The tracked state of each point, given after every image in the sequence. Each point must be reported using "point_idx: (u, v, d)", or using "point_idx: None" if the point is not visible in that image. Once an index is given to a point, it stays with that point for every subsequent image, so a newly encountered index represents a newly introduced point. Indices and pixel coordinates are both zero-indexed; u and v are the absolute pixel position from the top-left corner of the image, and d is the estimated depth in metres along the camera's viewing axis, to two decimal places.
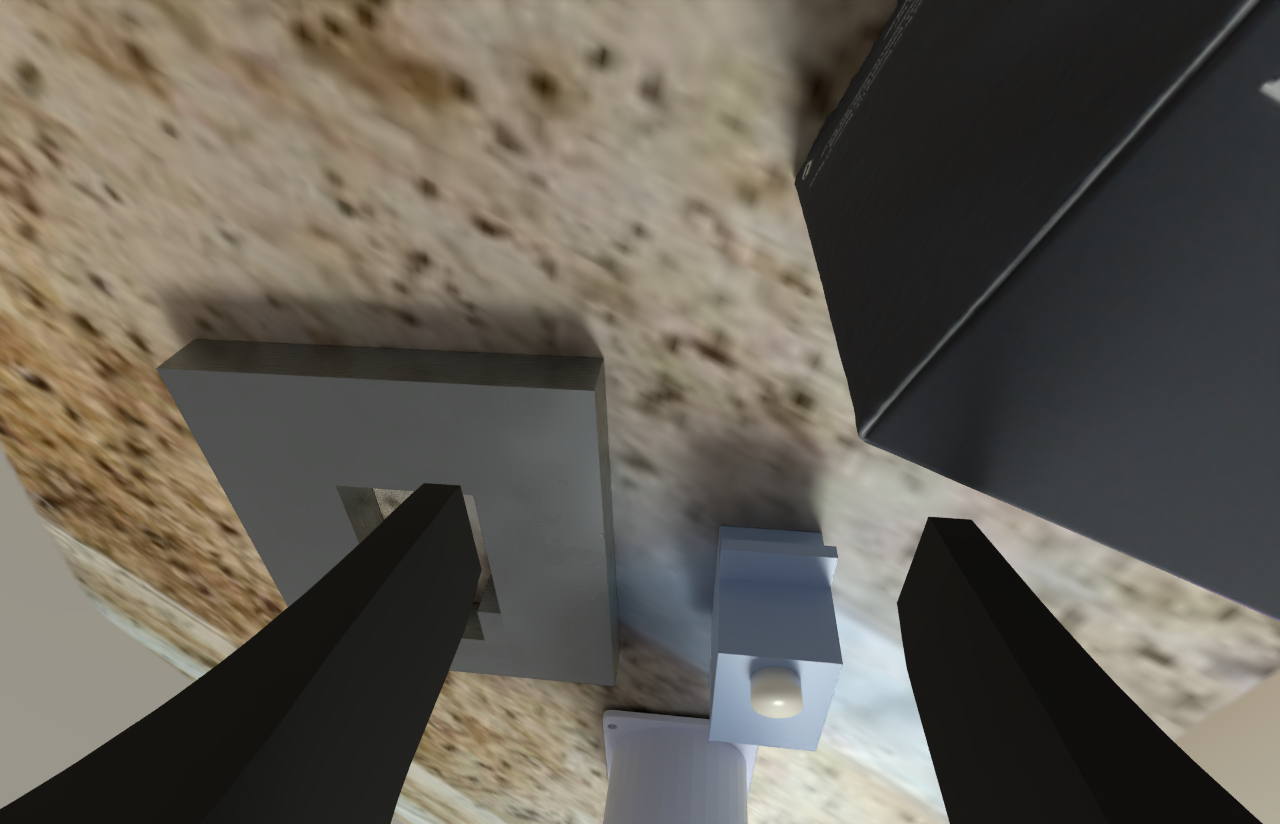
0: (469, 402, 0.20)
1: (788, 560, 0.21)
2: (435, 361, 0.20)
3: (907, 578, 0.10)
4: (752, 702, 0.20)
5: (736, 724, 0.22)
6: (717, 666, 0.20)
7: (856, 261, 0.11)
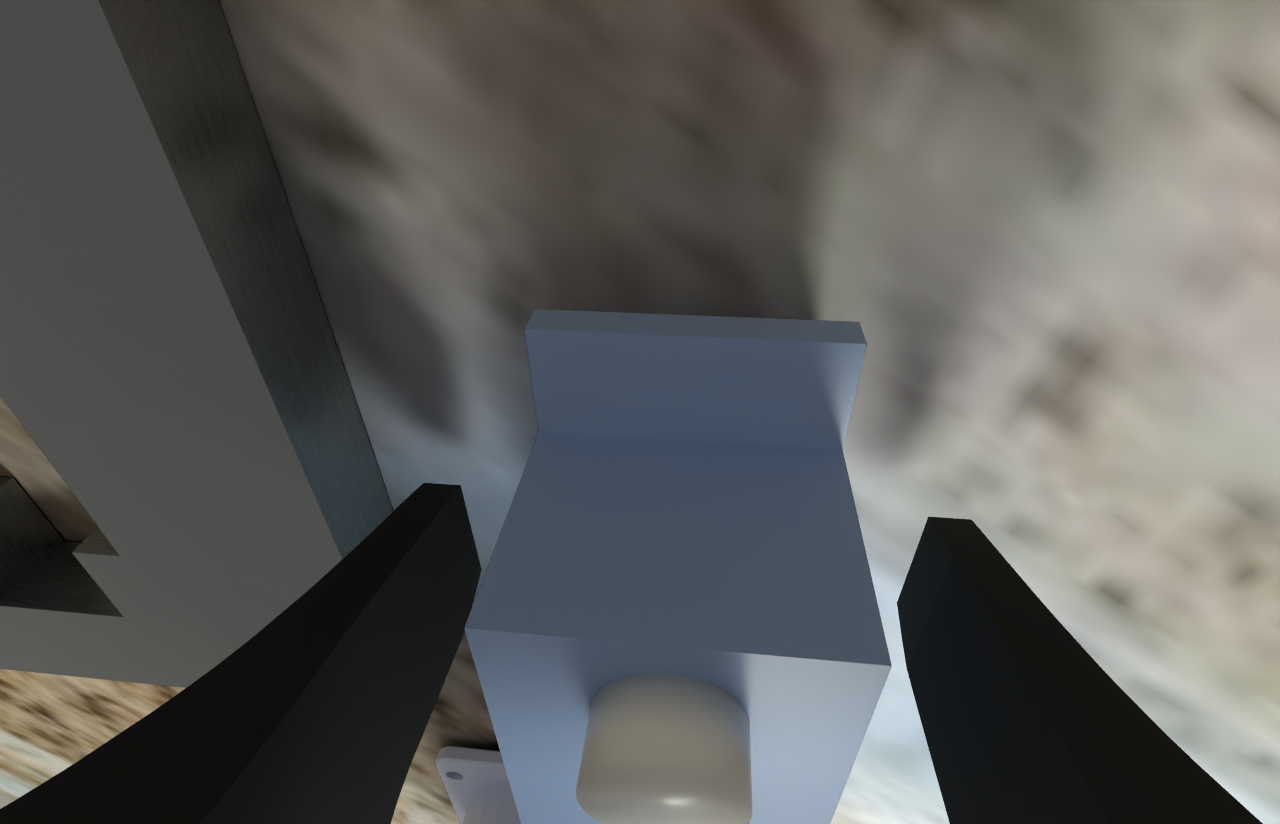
0: None
1: (719, 360, 0.07)
2: None
3: (907, 578, 0.10)
4: (581, 797, 0.06)
5: None
6: (481, 673, 0.06)
7: None
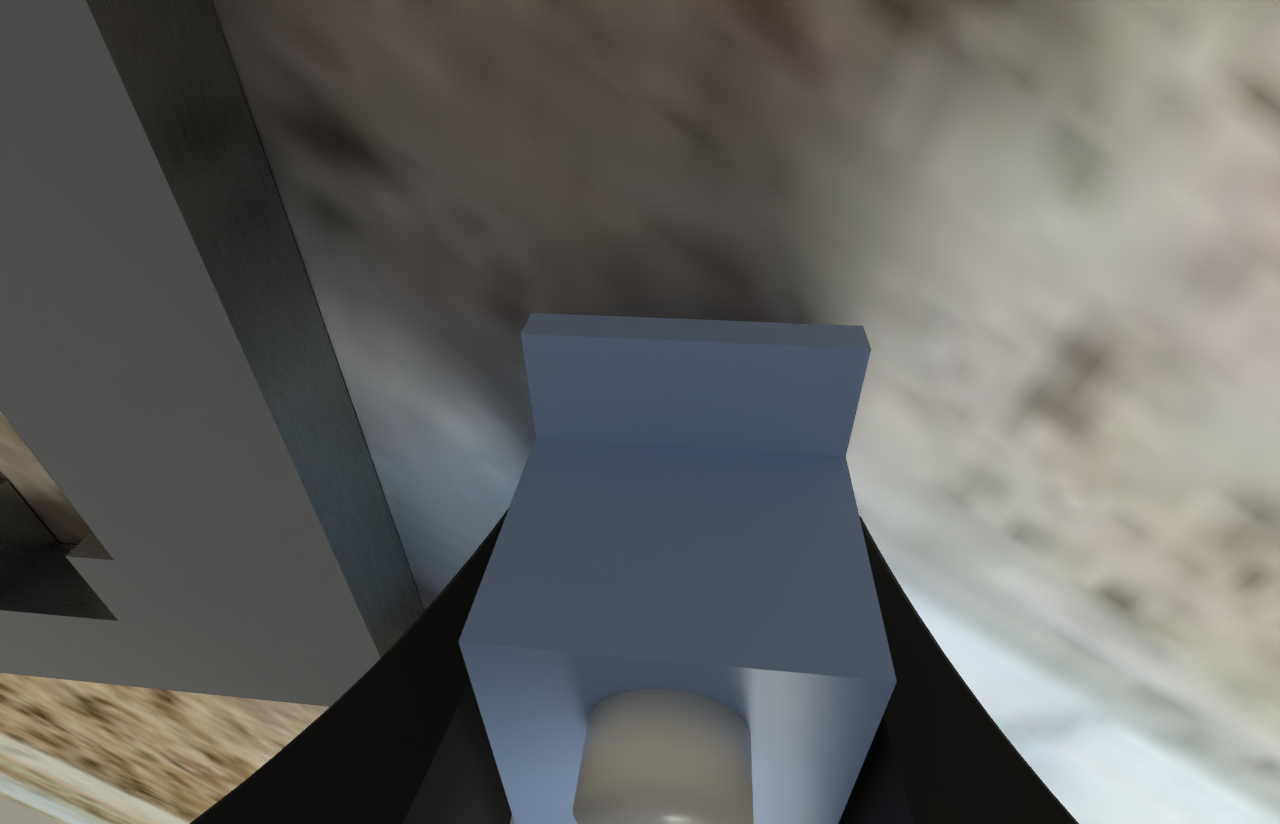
0: None
1: (720, 365, 0.07)
2: None
3: None
4: (578, 815, 0.06)
5: None
6: (477, 686, 0.06)
7: None
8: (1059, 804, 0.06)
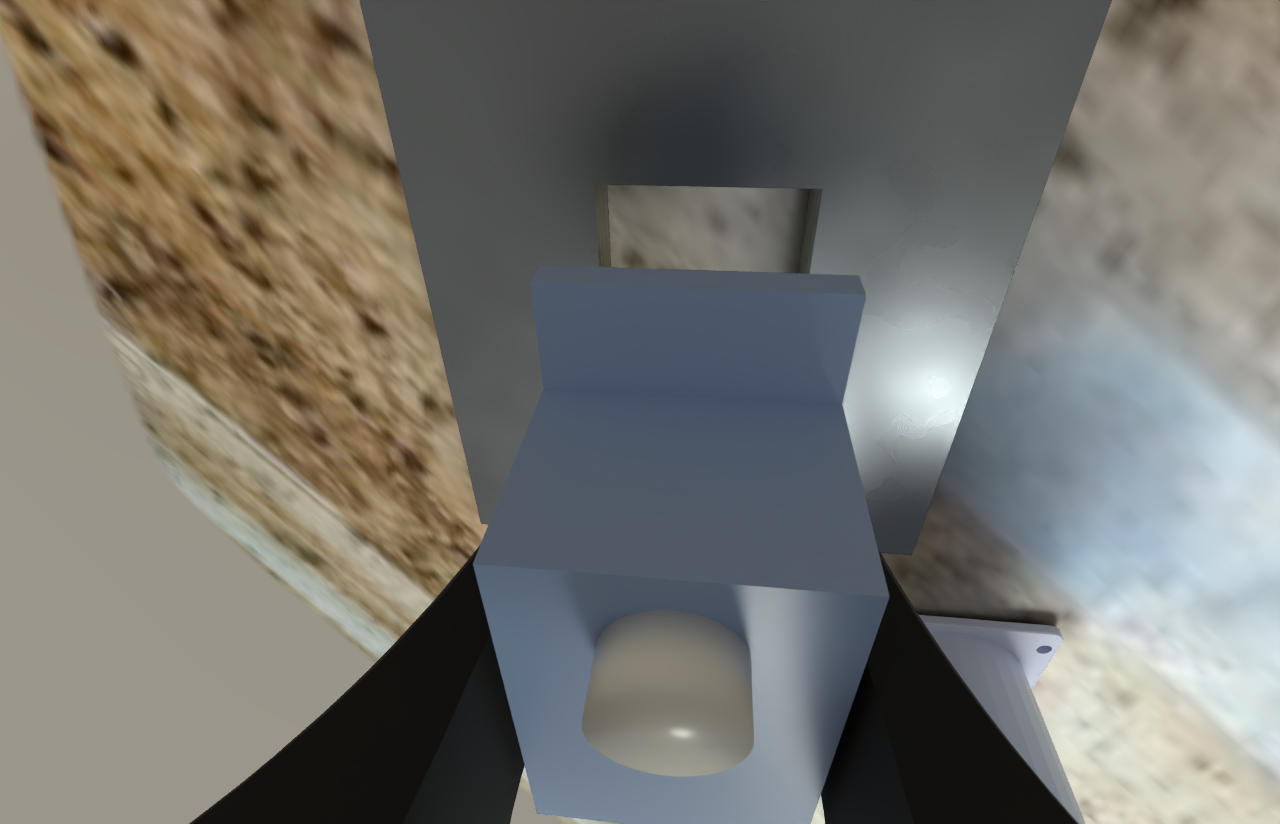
0: None
1: (721, 312, 0.07)
2: None
3: None
4: (586, 729, 0.06)
5: (592, 778, 0.08)
6: (489, 612, 0.07)
7: None
8: (1059, 804, 0.06)
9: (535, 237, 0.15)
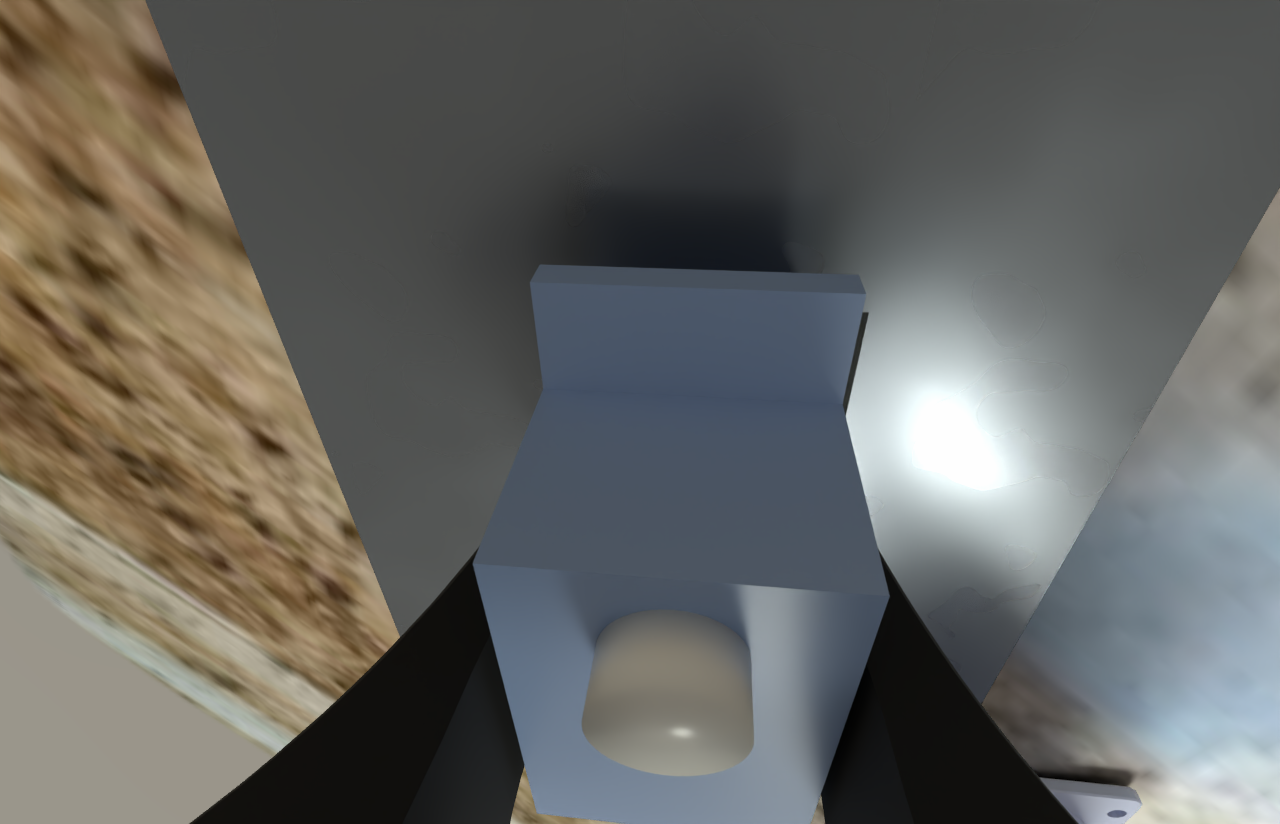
0: None
1: (721, 312, 0.07)
2: None
3: None
4: (586, 728, 0.06)
5: (592, 778, 0.08)
6: (489, 612, 0.07)
7: None
8: (1059, 804, 0.06)
9: (456, 365, 0.11)
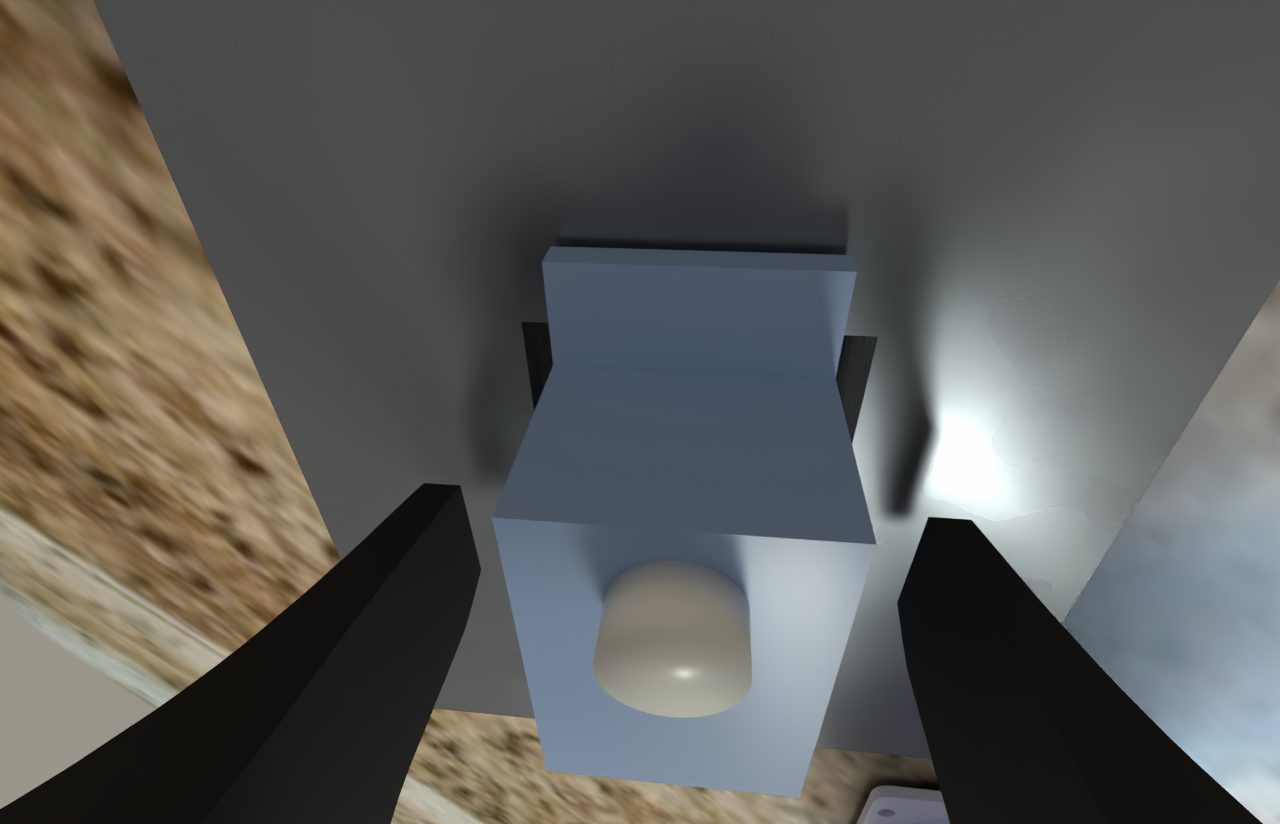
0: None
1: (721, 289, 0.08)
2: None
3: (907, 578, 0.10)
4: (597, 670, 0.07)
5: (599, 733, 0.09)
6: (506, 566, 0.07)
7: None
8: None
9: (439, 389, 0.10)
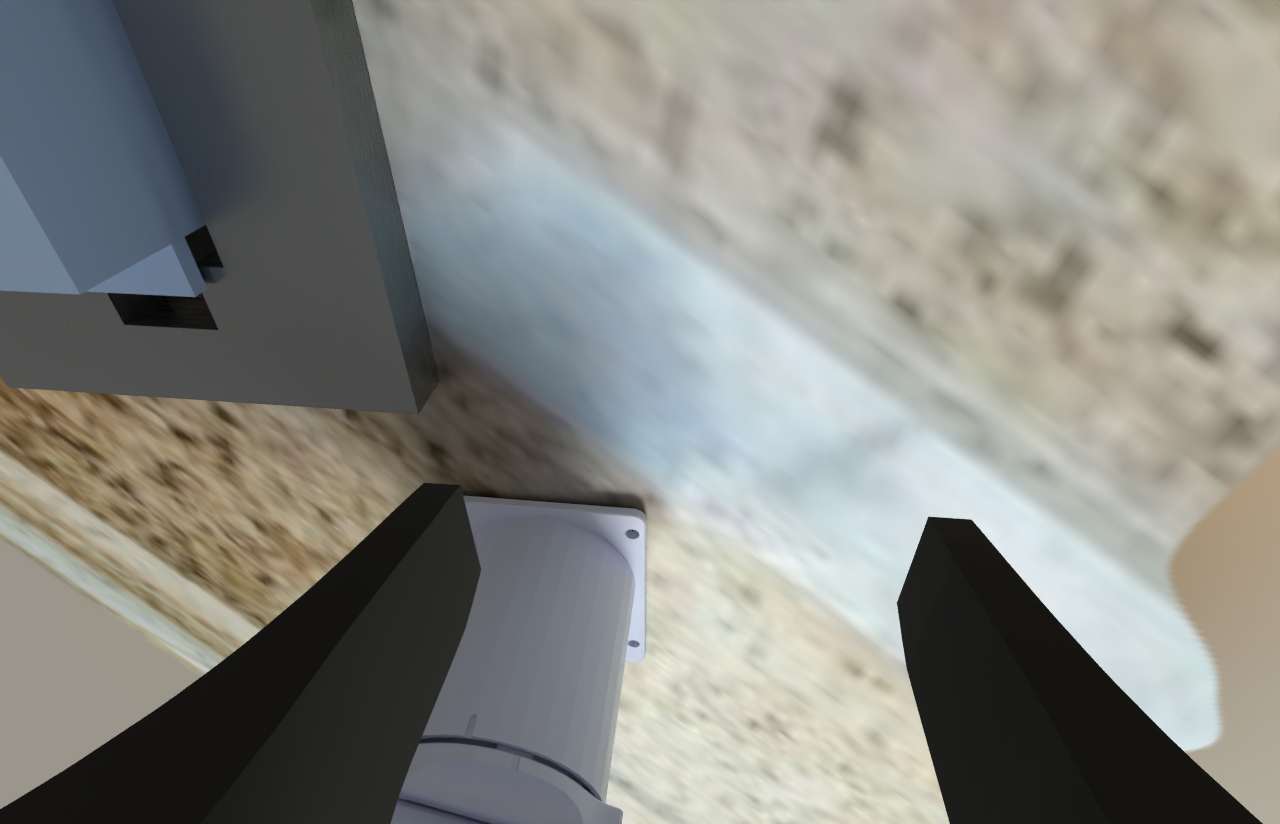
0: None
1: None
2: None
3: (907, 578, 0.10)
4: None
5: None
6: None
7: None
8: None
9: None
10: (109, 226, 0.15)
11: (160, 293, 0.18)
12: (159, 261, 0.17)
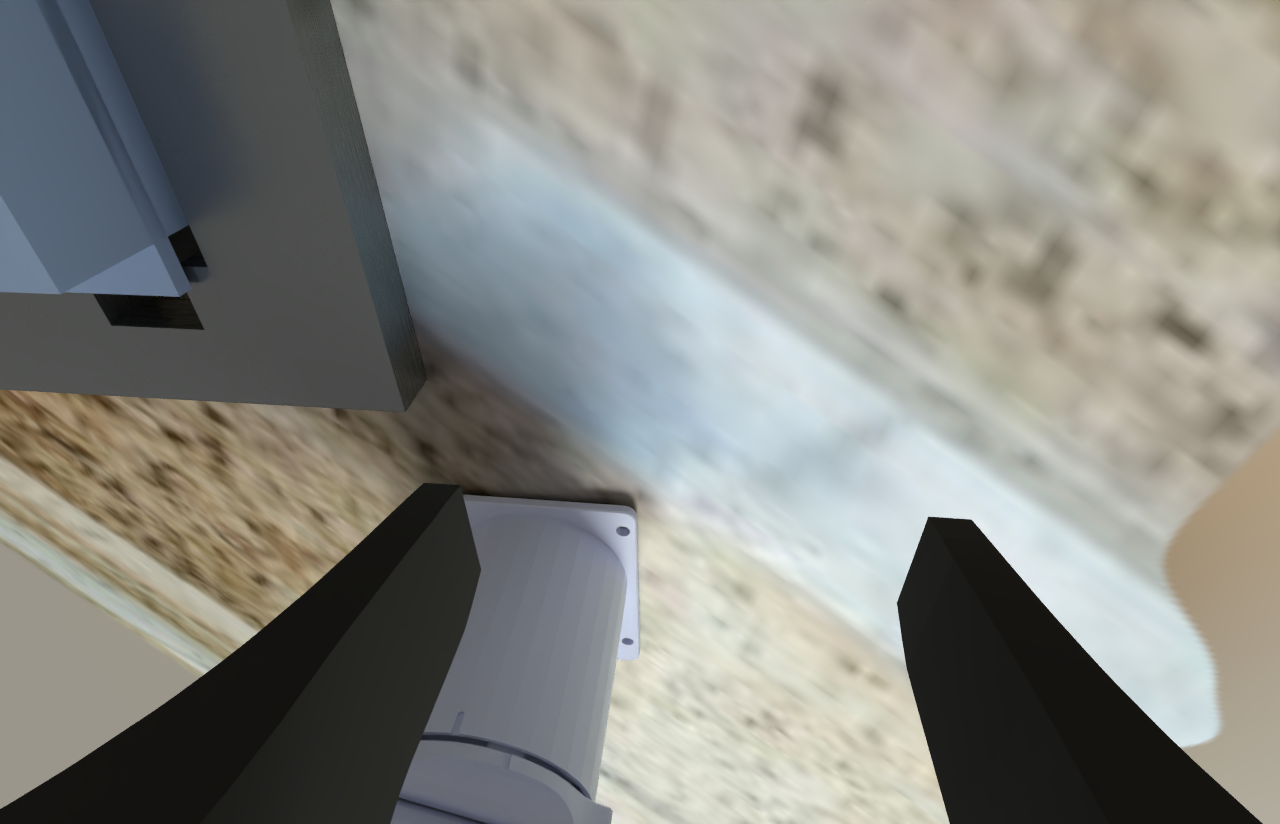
0: None
1: None
2: None
3: (907, 578, 0.10)
4: None
5: None
6: None
7: None
8: None
9: None
10: (90, 225, 0.15)
11: (145, 293, 0.18)
12: (143, 261, 0.17)
